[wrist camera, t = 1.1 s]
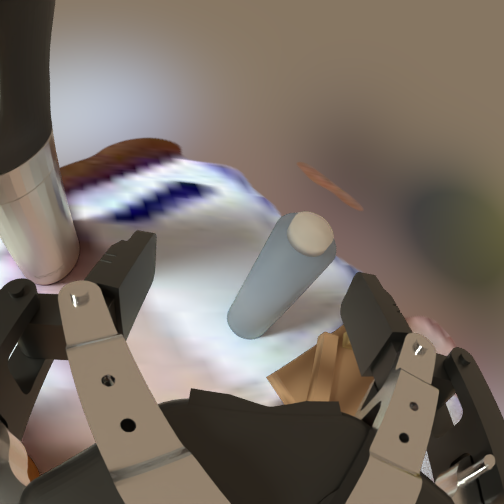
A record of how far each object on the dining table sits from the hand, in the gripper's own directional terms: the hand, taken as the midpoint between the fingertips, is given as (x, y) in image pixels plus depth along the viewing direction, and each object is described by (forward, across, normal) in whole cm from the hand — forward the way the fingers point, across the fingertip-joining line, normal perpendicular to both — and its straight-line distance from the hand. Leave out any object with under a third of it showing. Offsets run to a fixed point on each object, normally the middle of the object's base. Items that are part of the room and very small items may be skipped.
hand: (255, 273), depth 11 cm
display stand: (+10, -16, +21) cm, 28 cm away
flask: (+16, -3, +17) cm, 23 cm away
